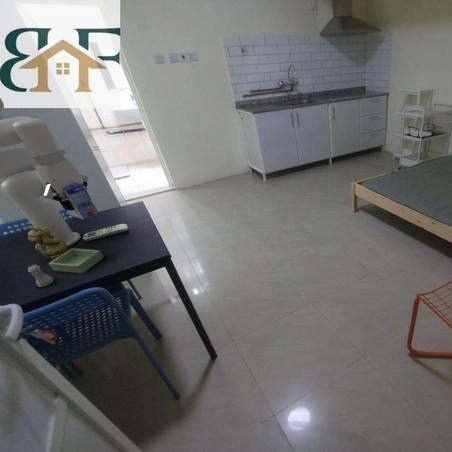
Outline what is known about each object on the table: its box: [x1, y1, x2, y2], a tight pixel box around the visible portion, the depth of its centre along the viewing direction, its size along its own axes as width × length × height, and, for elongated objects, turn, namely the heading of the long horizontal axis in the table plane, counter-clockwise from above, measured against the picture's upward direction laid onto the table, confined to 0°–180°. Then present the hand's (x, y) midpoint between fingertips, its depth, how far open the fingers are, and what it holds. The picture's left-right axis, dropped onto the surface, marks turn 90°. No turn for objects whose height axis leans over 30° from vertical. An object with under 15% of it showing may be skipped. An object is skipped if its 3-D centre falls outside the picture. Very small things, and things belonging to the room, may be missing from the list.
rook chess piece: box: [27, 264, 54, 288], centre depth 100 cm, size 4×4×8 cm
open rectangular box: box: [48, 247, 105, 274], centre depth 110 cm, size 14×10×4 cm
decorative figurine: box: [25, 225, 69, 261], centre depth 113 cm, size 10×8×15 cm
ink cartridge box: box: [60, 183, 99, 220], centre depth 101 cm, size 10×6×14 cm, turn 65°
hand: (78, 204), depth 103 cm, fingers closed on ink cartridge box, 6 cm apart
